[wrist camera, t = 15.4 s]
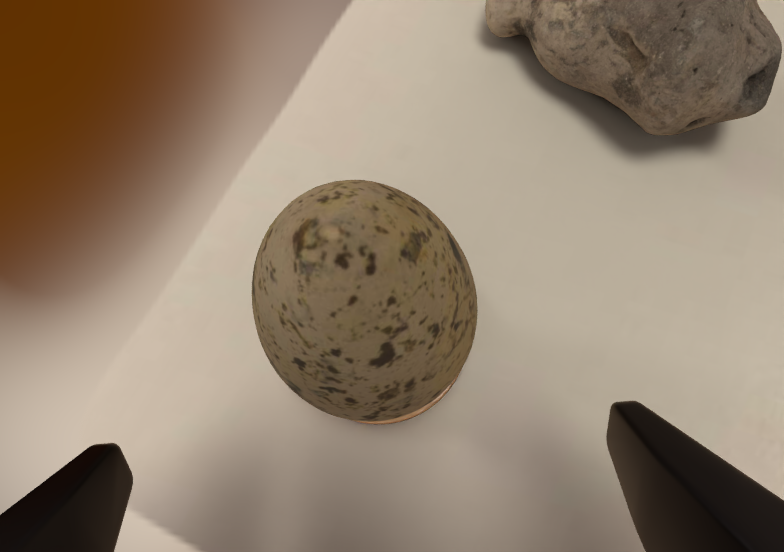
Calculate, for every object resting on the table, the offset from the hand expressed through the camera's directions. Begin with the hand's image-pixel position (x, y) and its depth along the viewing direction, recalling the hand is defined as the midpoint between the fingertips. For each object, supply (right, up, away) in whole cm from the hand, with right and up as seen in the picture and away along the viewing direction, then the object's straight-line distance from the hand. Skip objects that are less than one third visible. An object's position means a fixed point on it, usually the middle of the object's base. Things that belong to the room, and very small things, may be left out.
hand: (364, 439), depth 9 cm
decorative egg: (0, +1, +9) cm, 9 cm away
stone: (+9, +11, +12) cm, 19 cm away
